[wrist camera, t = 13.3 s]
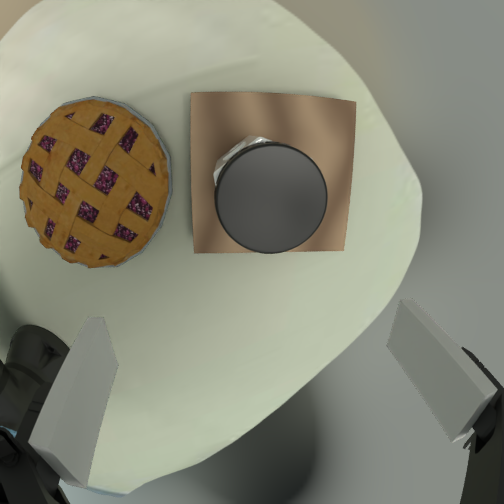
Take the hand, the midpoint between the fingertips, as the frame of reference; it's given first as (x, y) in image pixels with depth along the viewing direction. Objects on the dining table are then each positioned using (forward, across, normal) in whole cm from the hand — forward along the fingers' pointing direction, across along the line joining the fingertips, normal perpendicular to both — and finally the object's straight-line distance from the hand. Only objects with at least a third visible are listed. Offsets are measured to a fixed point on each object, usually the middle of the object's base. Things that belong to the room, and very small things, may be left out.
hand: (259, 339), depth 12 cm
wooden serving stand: (+27, +5, +4) cm, 28 cm away
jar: (+23, +3, +4) cm, 23 cm away
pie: (+28, -18, +3) cm, 34 cm away
